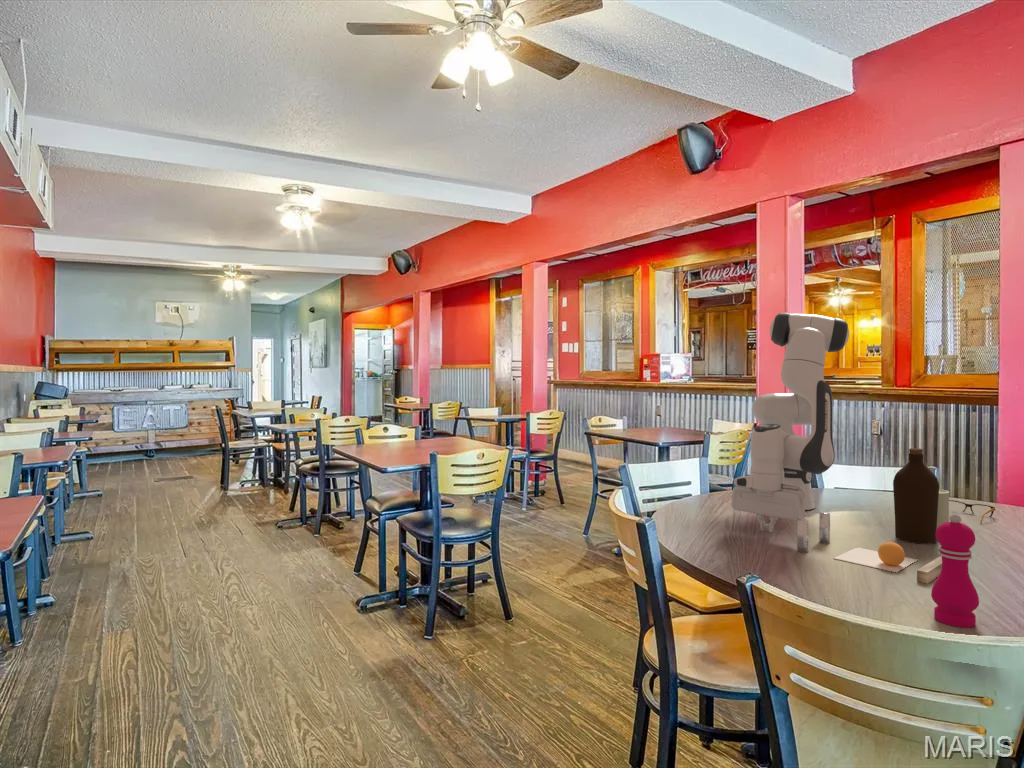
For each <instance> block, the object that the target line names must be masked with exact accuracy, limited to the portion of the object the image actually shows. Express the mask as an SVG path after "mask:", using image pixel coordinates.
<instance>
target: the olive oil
mask: <svg viewBox="0 0 1024 768" xmlns="http://www.w3.org/2000/svg"><path fill="white" fill-rule="evenodd" d="M923 453H924V449H922V448H918V447H917V448H916V447H914V448H913V447H912V448H909V449H908V462H907V463H906V464H905V465H904V466H903V467H901V468H900V469H899V470H898V471H897V472H896V473H895V474H894V478H893V479H892V480H893V481H892V489H893V490H892V492H893V504H894V507H893V508H894V529H895V530H894V535H895V536H894V537H895V538H896V539H897V538H898V540H900V541H903V542H906V541H908V542H907V543H912V542H914V544H920V543H931V544H935V543H937V539H936V530H937V513H938V498H939V489H940V482H939V480H938V477H937V475H936V474H935V473H933V471H932V470H931V469H930V468H928V466H927V465H925V464H924V454H923ZM934 542H935V543H934Z"/></svg>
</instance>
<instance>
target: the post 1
mask: <svg viewBox="0 0 1024 768" xmlns="http://www.w3.org/2000/svg"><path fill="white" fill-rule="evenodd" d="M796 525H797V526H796V527H797V529H796V536H797V538H796V539H797V540H796V551H797V552H798V551H799V553H804V552H807V553H809V520H808V519H805V518H804V519H798V520H797V521H796Z"/></svg>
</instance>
